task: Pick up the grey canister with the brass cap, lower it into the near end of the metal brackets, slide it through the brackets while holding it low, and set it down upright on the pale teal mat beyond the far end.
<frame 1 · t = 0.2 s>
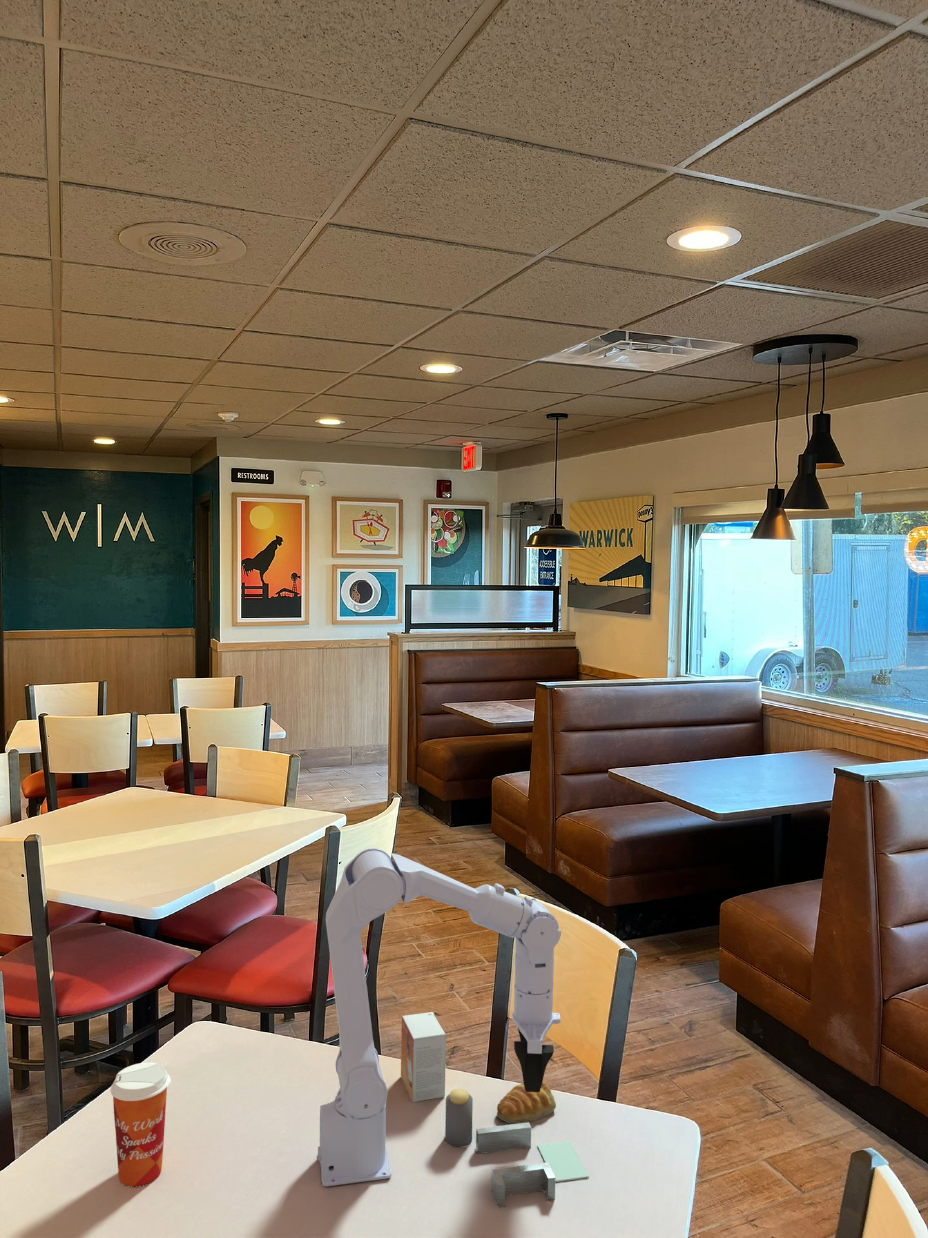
hand: (531, 1076, 131), 10 cm above the table, tool pointing down, fingers open, 7 cm apart
pastry: (527, 1113, 139), on the table
paper cup: (140, 1175, 123), on the table
mat: (562, 1161, 127), on the table
grey canister: (458, 1139, 132), on the table
small box: (422, 1088, 145), on the table
metal brackets: (511, 1168, 125), on the table
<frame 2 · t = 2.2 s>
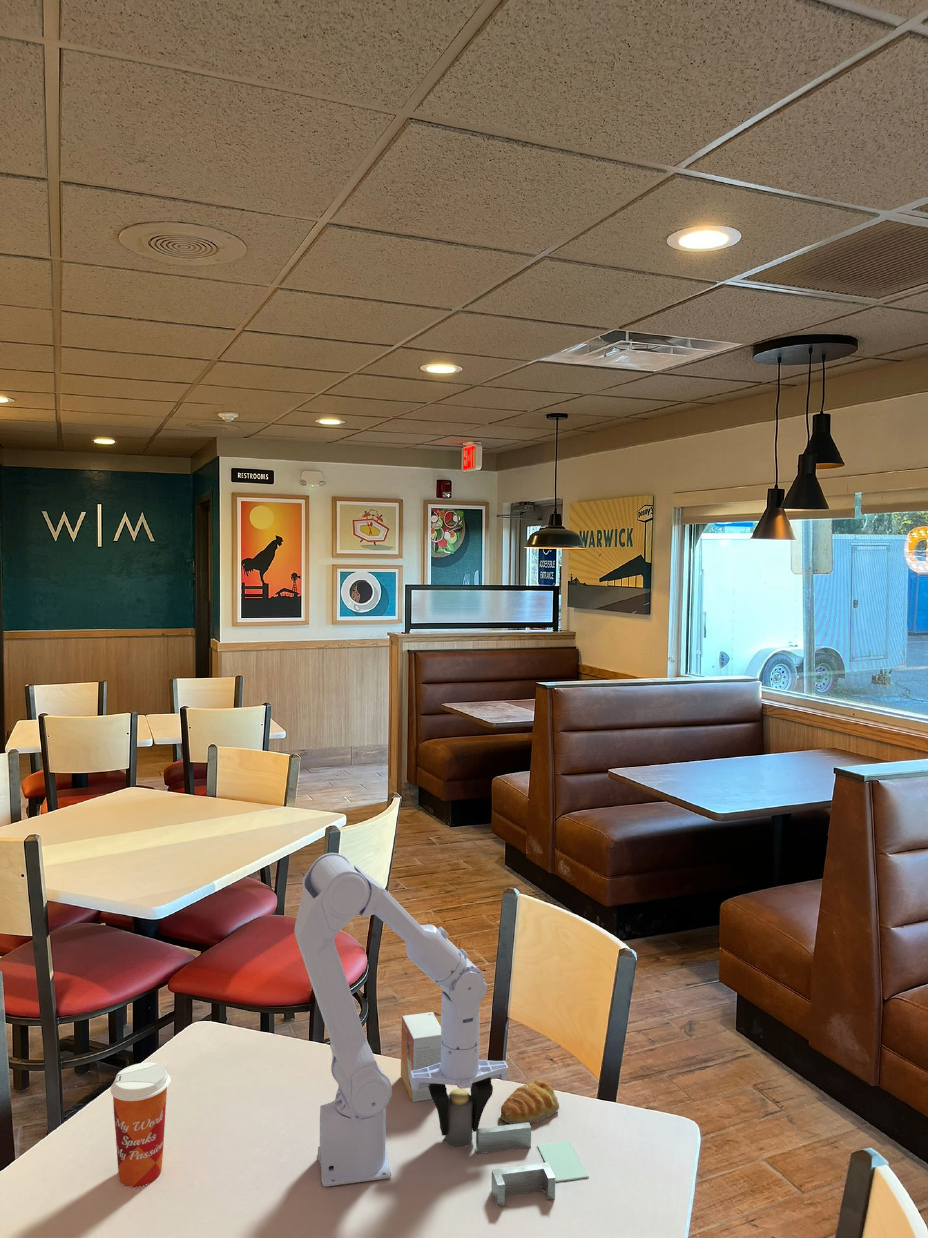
hand: (458, 1129, 132), 1 cm above the table, tool pointing down, fingers closed on grey canister, 4 cm apart
grey canister: (458, 1139, 132), on the table, touching gripper
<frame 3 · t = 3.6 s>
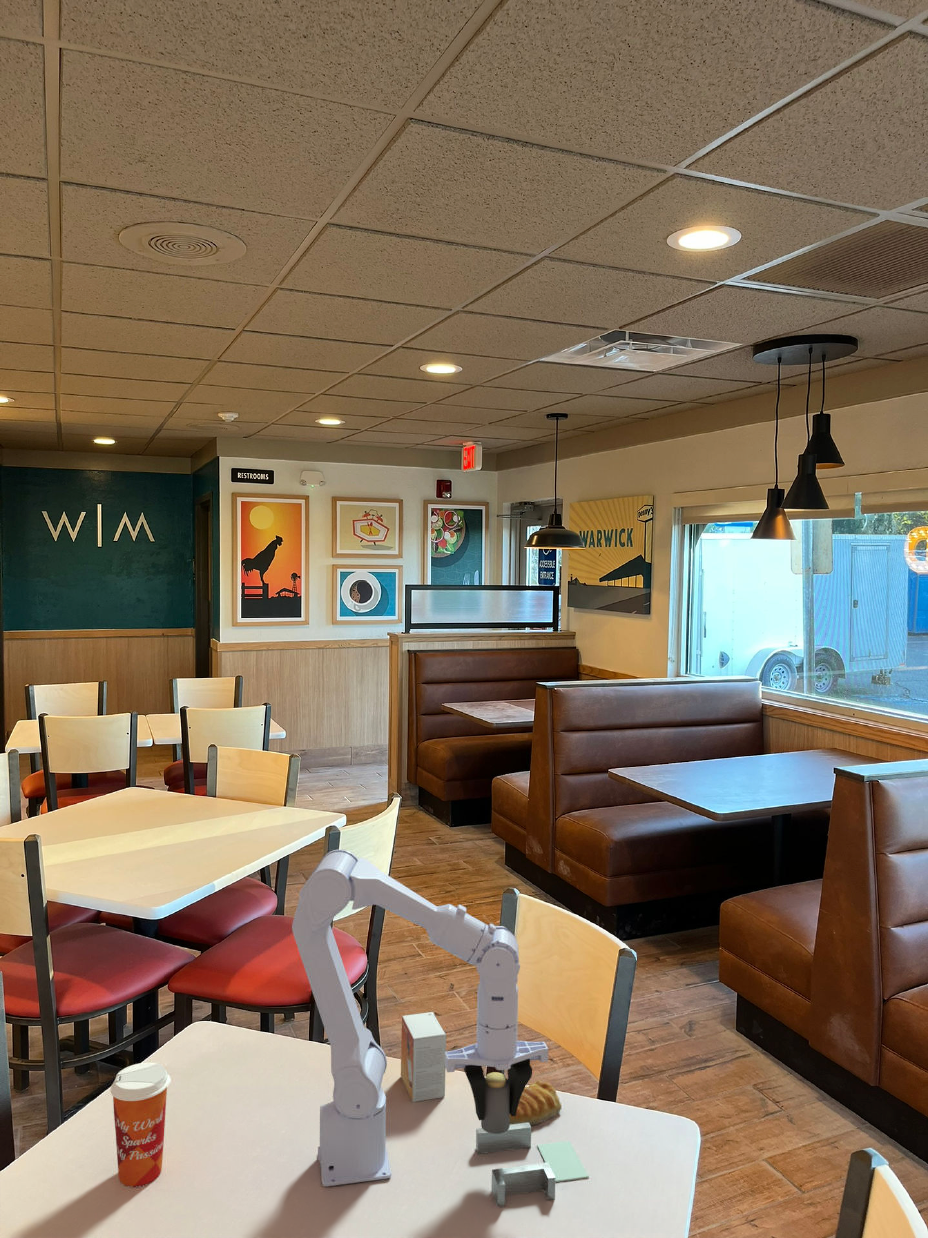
hand: (495, 1114, 124), 8 cm above the table, tool pointing down, fingers closed on grey canister, 4 cm apart
grey canister: (495, 1125, 125), point 6 cm above the table, touching gripper
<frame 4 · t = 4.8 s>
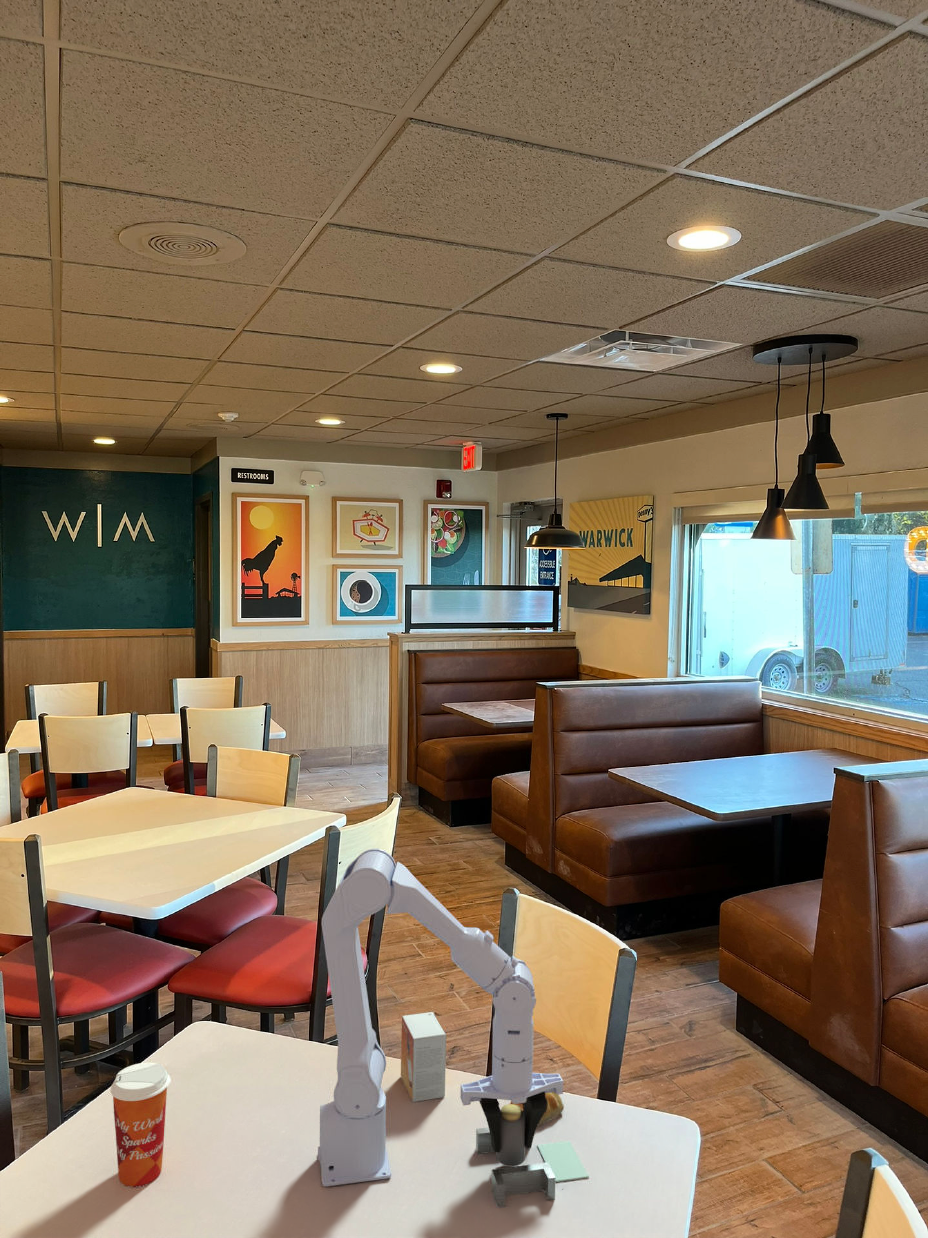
hand: (511, 1146, 125), 3 cm above the table, tool pointing down, fingers closed on grey canister, 4 cm apart
grey canister: (510, 1157, 125), point 2 cm above the table, touching gripper
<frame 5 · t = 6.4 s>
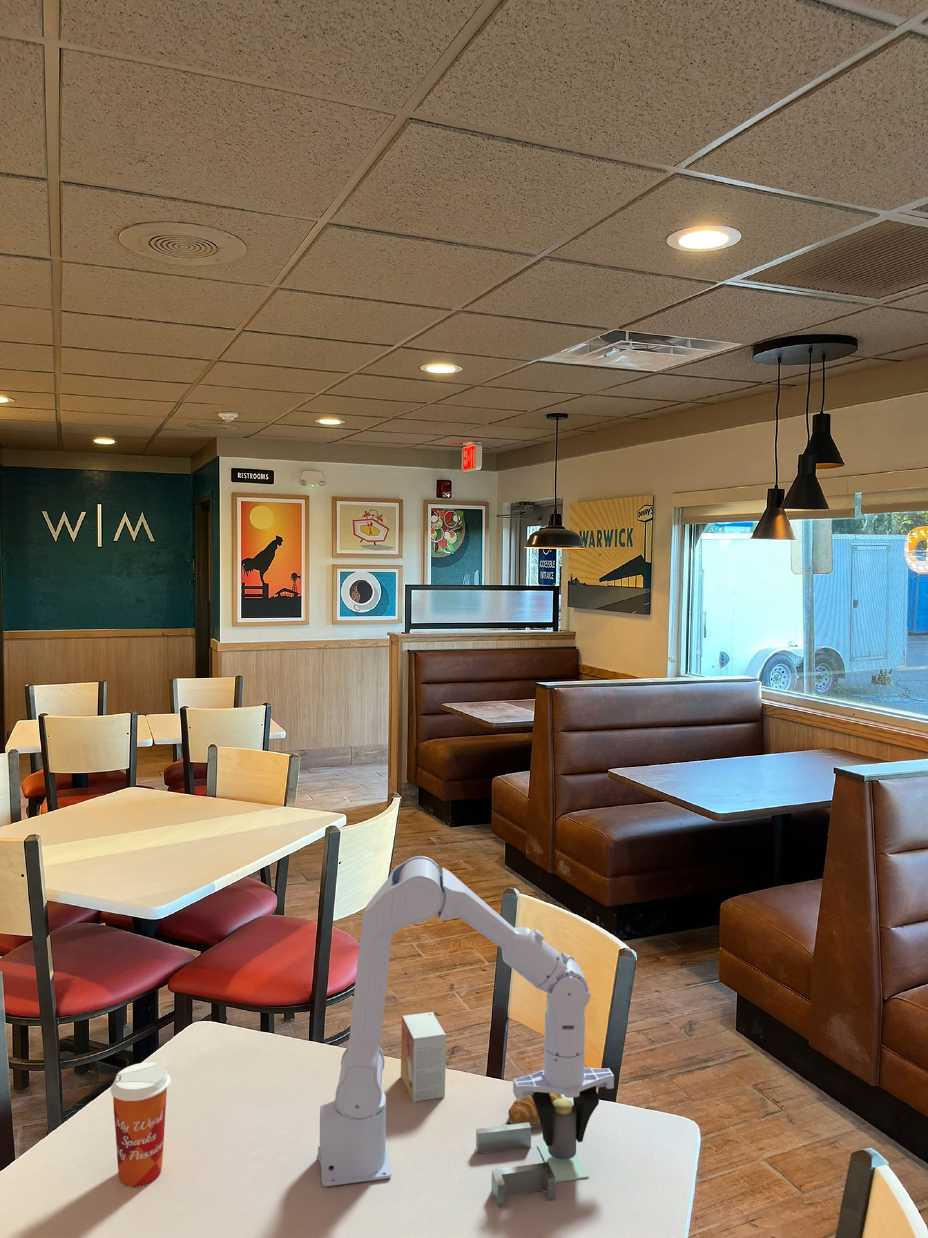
hand: (562, 1140, 127), 3 cm above the table, tool pointing down, fingers closed on grey canister, 4 cm apart
grey canister: (562, 1151, 127), point 1 cm above the table, touching gripper
when the fingers open (2 cm above the table, at t = 7.6 s): grey canister stays where it is, resting on mat.
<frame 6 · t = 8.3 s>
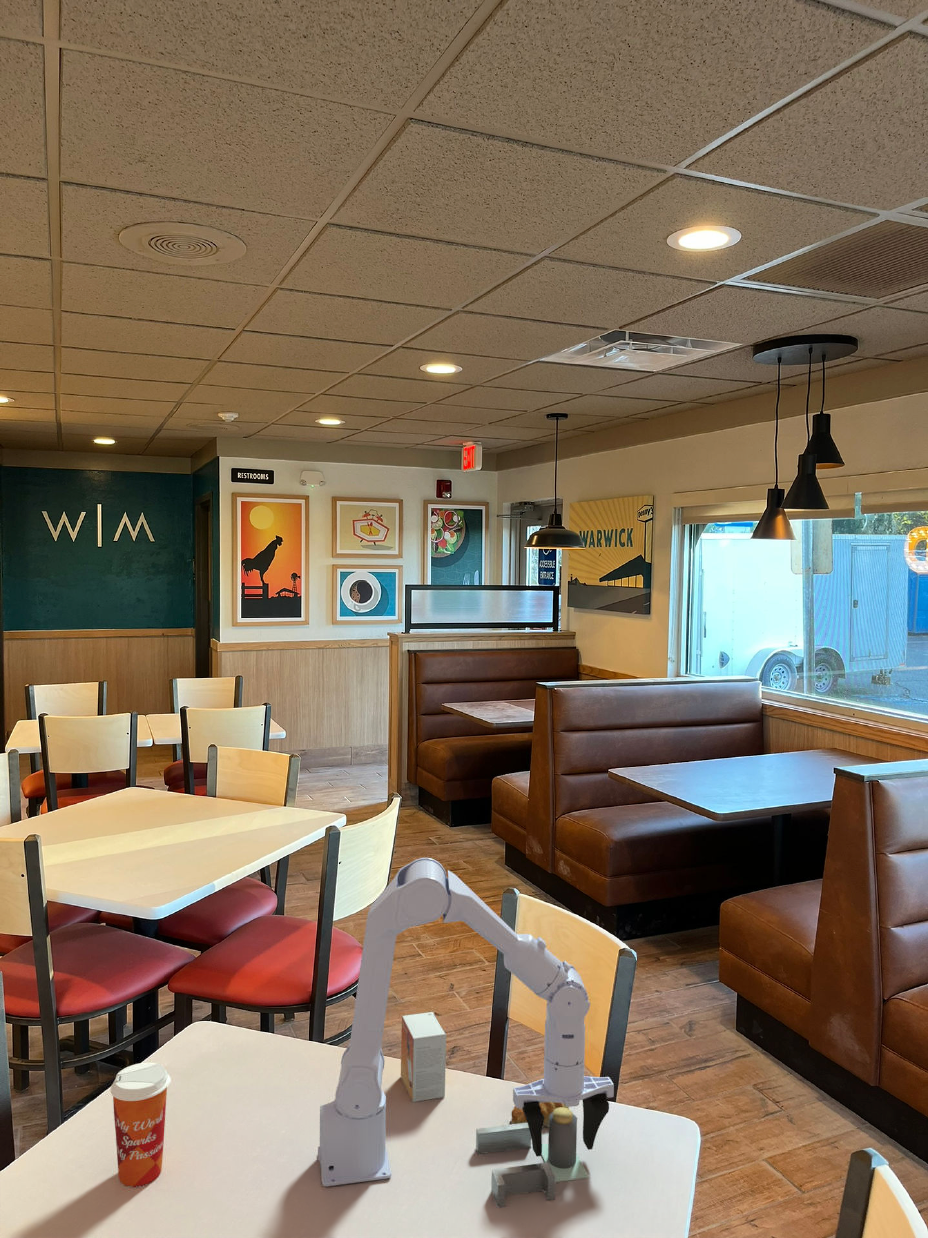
hand: (562, 1148, 127), 2 cm above the table, tool pointing down, fingers open, 7 cm apart
grey canister: (562, 1159, 127), resting on mat
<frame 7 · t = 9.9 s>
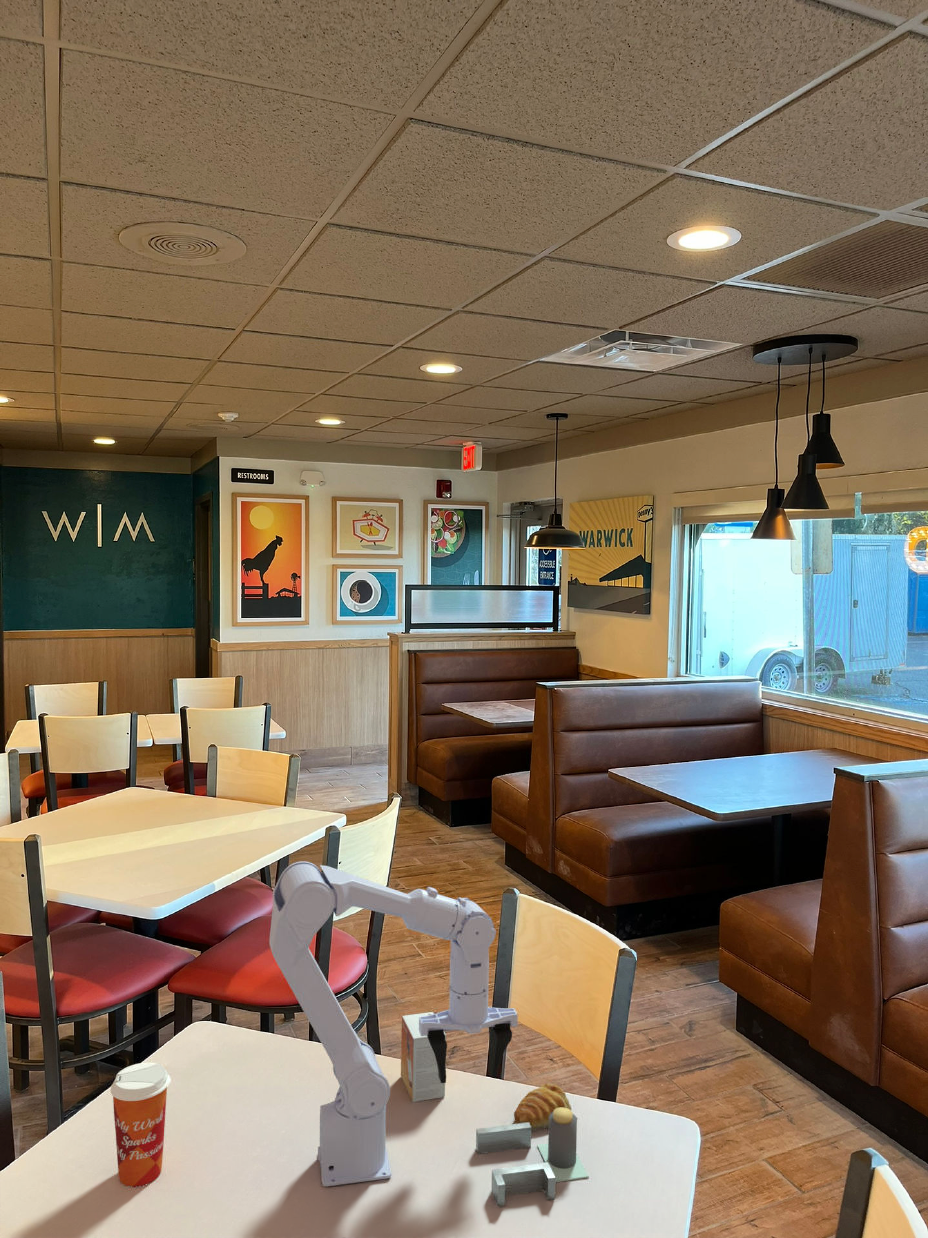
hand: (467, 1076, 131), 10 cm above the table, tool pointing down, fingers open, 7 cm apart
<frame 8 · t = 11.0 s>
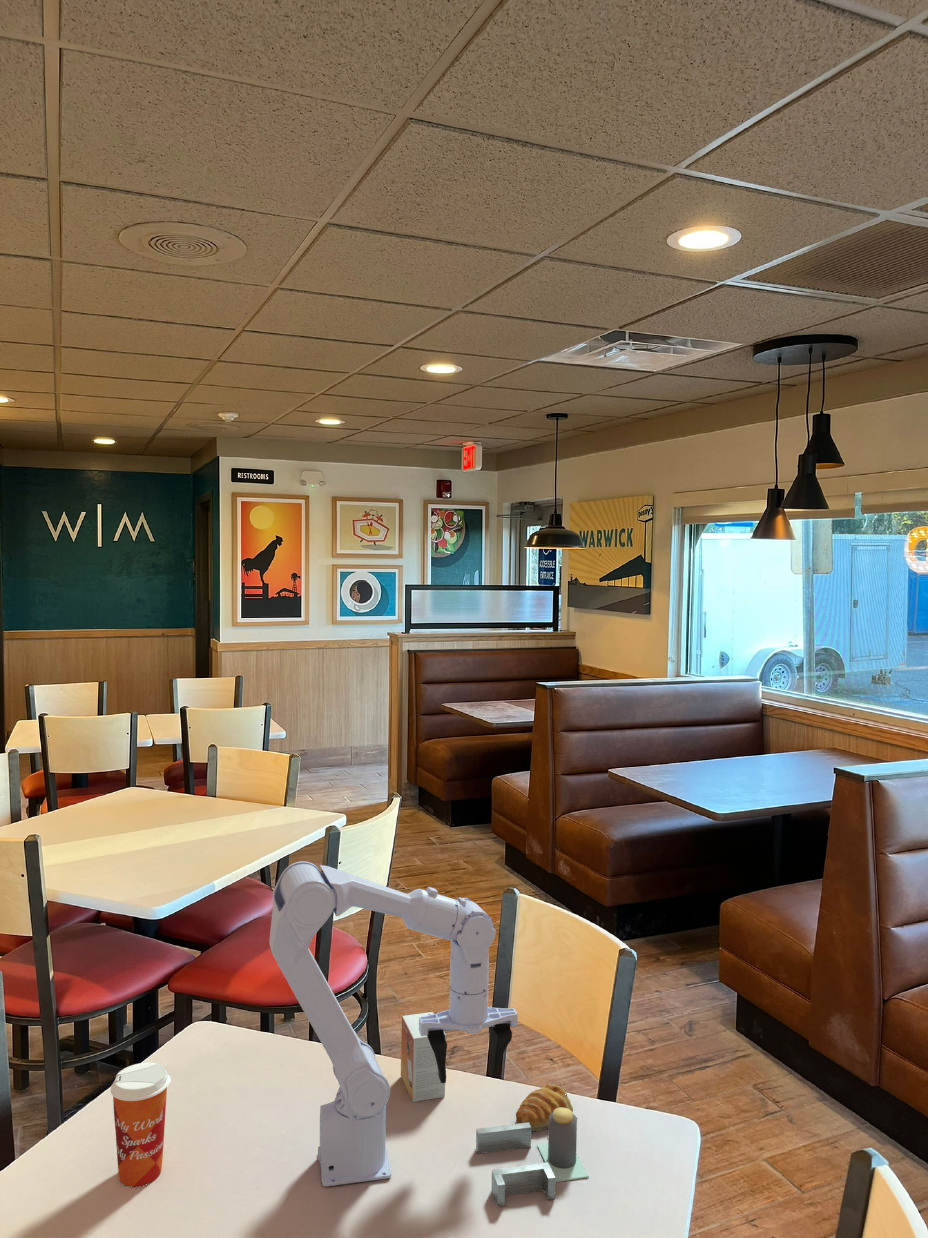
hand: (467, 1076, 131), 10 cm above the table, tool pointing down, fingers open, 7 cm apart
at the end: grey canister inside the target area on the mat (0.2 cm from its centre), point 0.2 cm above the mat's base; grey canister tilted 0°; the gripper is holding nothing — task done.
